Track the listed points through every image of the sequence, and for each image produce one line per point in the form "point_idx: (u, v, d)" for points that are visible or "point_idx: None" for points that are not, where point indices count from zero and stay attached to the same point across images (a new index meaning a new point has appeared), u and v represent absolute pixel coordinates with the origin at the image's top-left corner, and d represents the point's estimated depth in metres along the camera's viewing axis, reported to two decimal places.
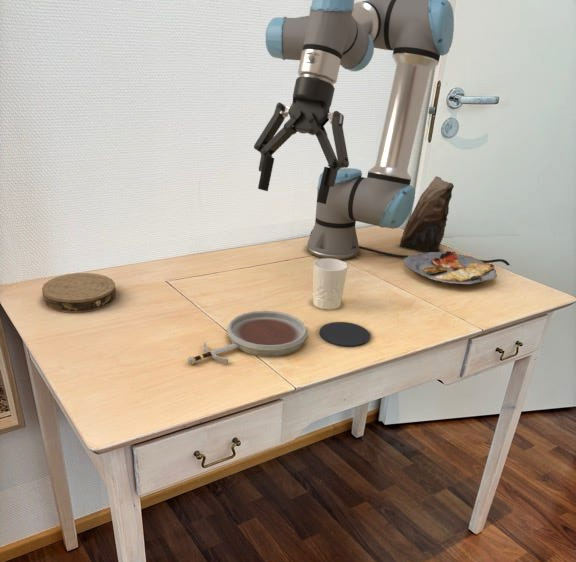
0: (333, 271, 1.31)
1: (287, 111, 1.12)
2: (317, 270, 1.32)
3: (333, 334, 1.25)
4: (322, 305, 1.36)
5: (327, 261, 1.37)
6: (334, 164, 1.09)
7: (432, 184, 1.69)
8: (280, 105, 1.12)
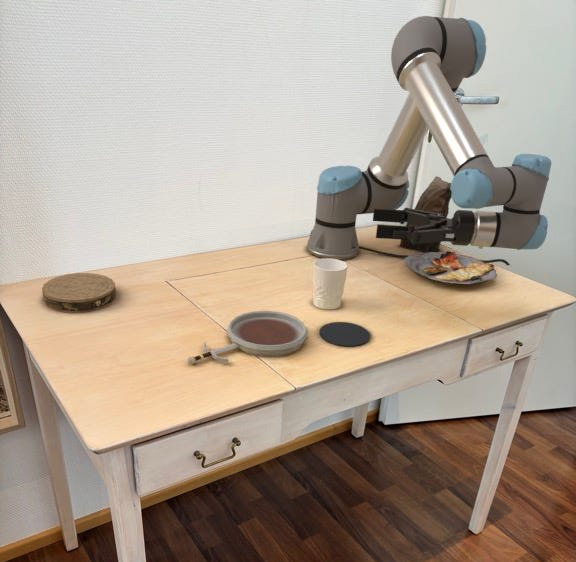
0: (333, 271, 1.31)
1: None
2: (317, 270, 1.32)
3: (333, 334, 1.25)
4: (322, 305, 1.36)
5: (327, 261, 1.37)
6: None
7: (432, 184, 1.69)
8: None
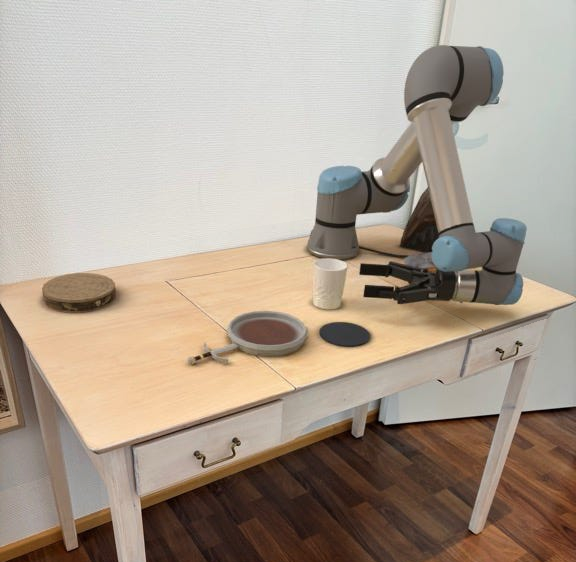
0: (333, 271, 1.31)
1: None
2: (317, 270, 1.32)
3: (333, 334, 1.25)
4: (322, 305, 1.36)
5: (327, 261, 1.37)
6: None
7: None
8: None
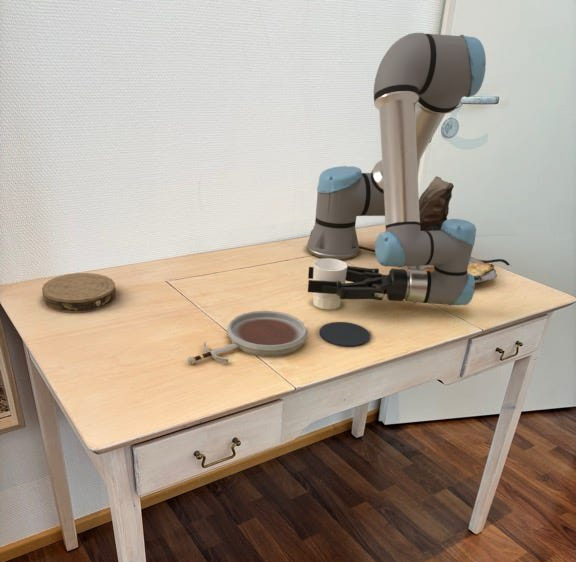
0: (333, 271, 1.31)
1: None
2: (317, 270, 1.32)
3: (333, 334, 1.25)
4: (322, 305, 1.36)
5: (327, 261, 1.37)
6: None
7: (432, 184, 1.69)
8: None
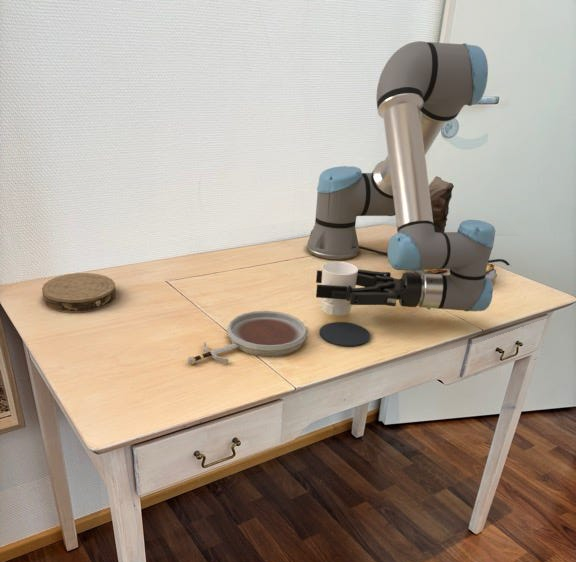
0: (343, 275, 1.23)
1: None
2: (326, 274, 1.25)
3: (333, 334, 1.25)
4: (331, 311, 1.29)
5: (336, 264, 1.30)
6: None
7: (432, 184, 1.69)
8: None
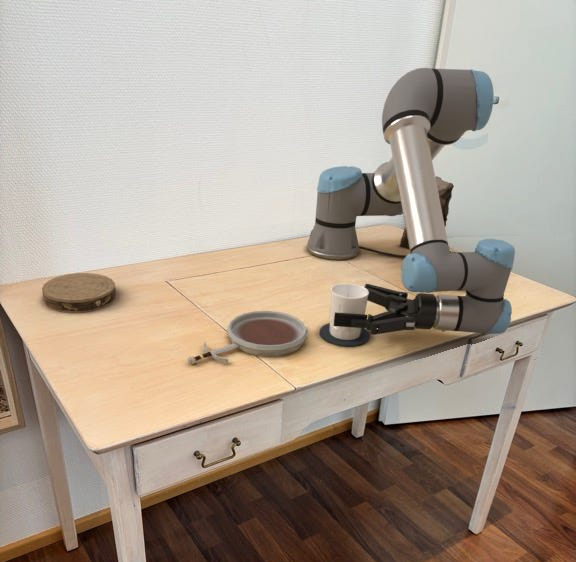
0: (353, 299, 1.17)
1: None
2: (335, 297, 1.19)
3: None
4: (340, 335, 1.23)
5: (345, 286, 1.24)
6: None
7: None
8: None
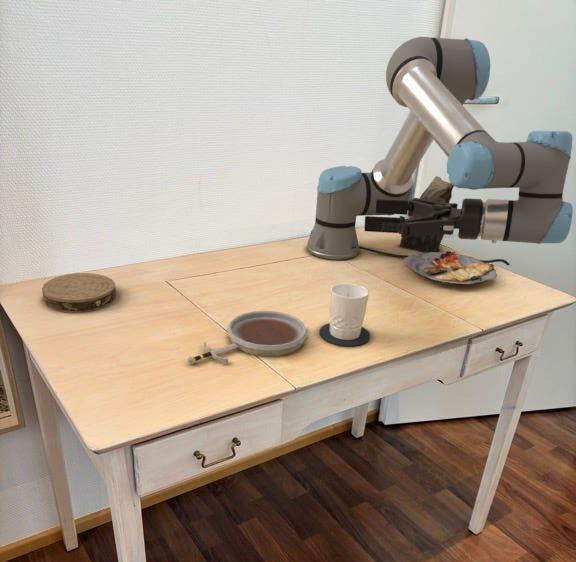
0: (353, 299, 1.17)
1: None
2: (335, 297, 1.19)
3: None
4: (340, 335, 1.23)
5: (345, 286, 1.24)
6: None
7: (432, 184, 1.69)
8: None
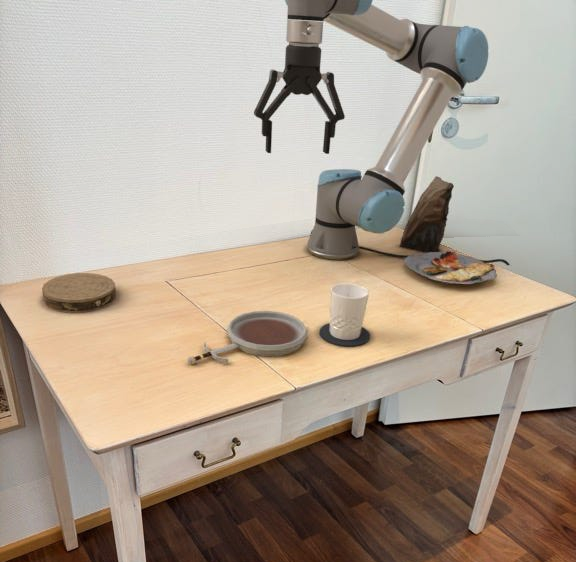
0: (353, 299, 1.17)
1: (281, 76, 1.23)
2: (335, 297, 1.19)
3: None
4: (340, 335, 1.23)
5: (345, 286, 1.24)
6: None
7: (432, 184, 1.69)
8: (276, 72, 1.22)
